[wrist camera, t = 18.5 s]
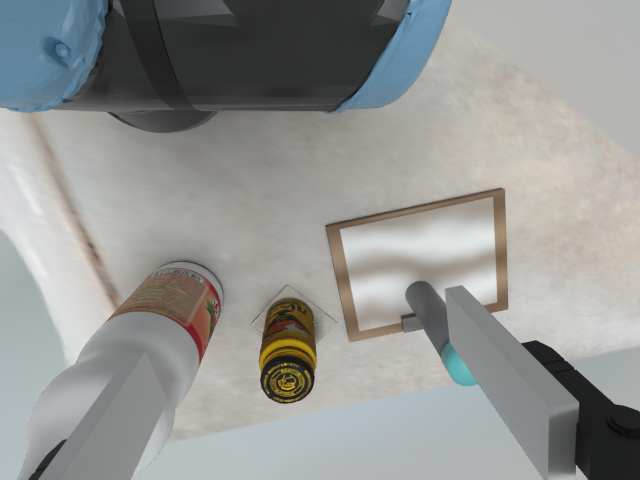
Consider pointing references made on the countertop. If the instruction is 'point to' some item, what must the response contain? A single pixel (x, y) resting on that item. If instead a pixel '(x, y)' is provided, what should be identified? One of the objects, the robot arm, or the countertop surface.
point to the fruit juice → (130, 338)
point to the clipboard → (419, 260)
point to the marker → (437, 328)
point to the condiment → (290, 345)
